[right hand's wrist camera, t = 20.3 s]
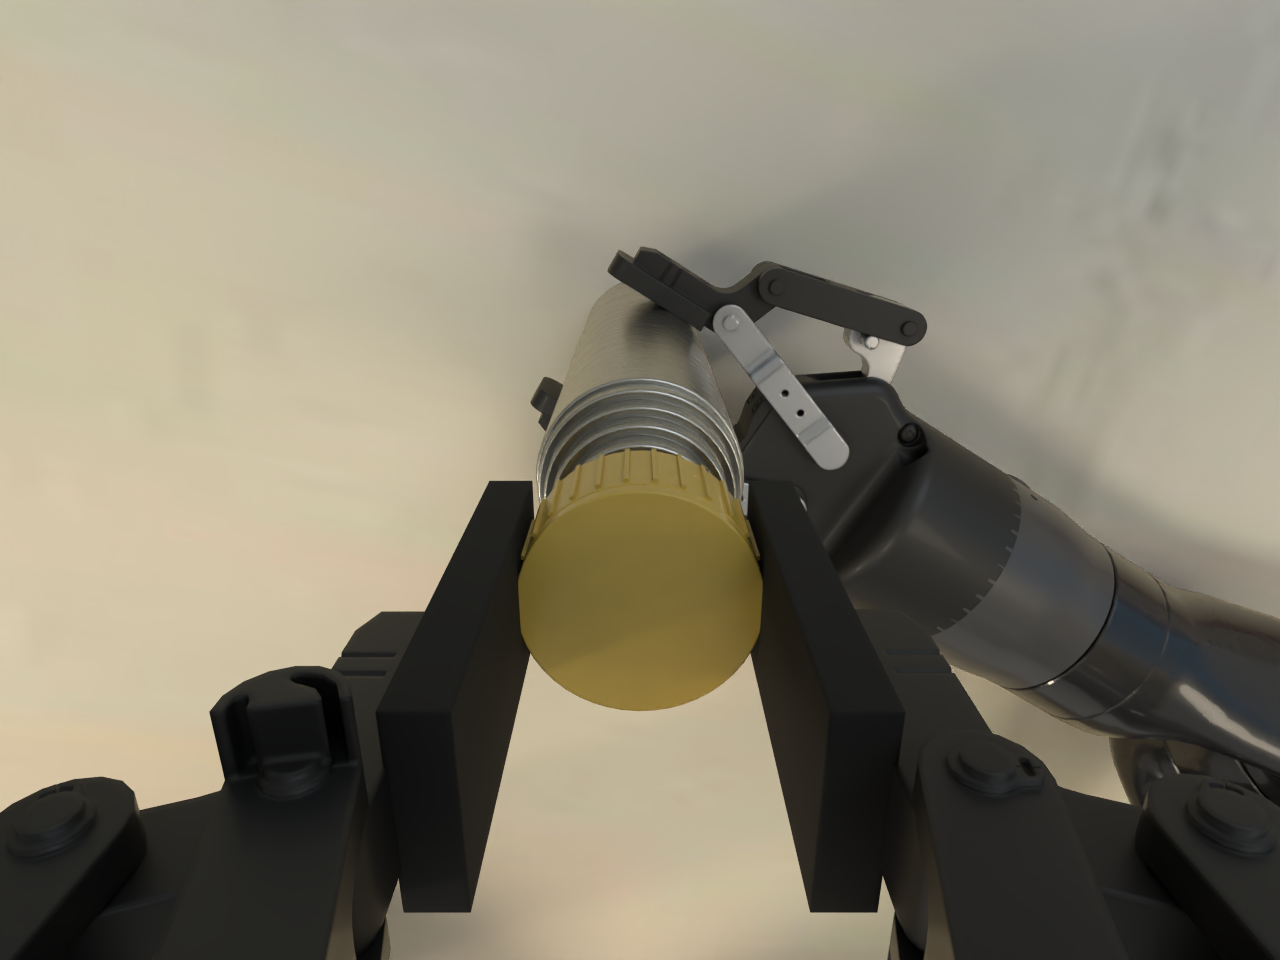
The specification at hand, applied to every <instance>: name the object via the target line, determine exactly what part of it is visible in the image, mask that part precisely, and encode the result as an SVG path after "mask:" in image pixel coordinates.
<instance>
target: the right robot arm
mask: <svg viewBox="0 0 1280 960" xmlns="http://www.w3.org/2000/svg"><path fill="white" fill-rule="evenodd" d="M532 519H534V506H533V487H532V481H489V483H488V485H487V487H486V489H485V491H484V493H483V495H482V497H481V499H480V501H479V503H478V505H477V507H476V510H475V512H474V514H473V516H472V518H471V520H470V522H469V524H468V526H467V528H466V530H465V532H464V534H463V536H462V538H461V540H460V542H459V544H458V546H457V548H456V550H455V552H454V554H453V556H452V558H451V560H450V562H449V564H448V566H447V568H446V570H445V572H444V574H443V576H442V578H441V580H440V582H439V584H438V586H437V588H436V590H435V592H434V594H433V596H432V598H431V600H430V602H429V604H428V606H427V608H426V610H425V612H381V613H379V614H378V615H376V616H375V617H374V618H372V619H371V620H370V621H368V622H367V623H365V624H364V625H363V626H361V627H360V628H359V629H357V630H356V631H355V632H354V634H353V636H352V637H351V639H350V640H349V642H348V643H347V645H346V647H345V648H344V650H343V651H342V656H341V657H339V658H338V659H337V661H336V663H335V664H334V666H333V667H332V669H328V668H324V667H321V666H294V667H289V668H284V669H279V670H274V671H269V672H266V673H264V674H261V675H259V676H257V677H254V678H252V679H249V680H247V681H244V682H242V683H241V684H239V685H238V686H236V687H235V688H233V689H232V690H230V691H229V692H227V693H226V694H224V695H223V696H222V697H221V698H220V699H219V701H218V702H217V703H216V704H215V706H214V707H213V708H212V709H211V711H210V717H211V721H212V725H213V730H214V734H215V738H216V743H217V747H218V752H219V756H220V760H221V765H222V769H223V773H224V778H225V782H224V784H223V787H222V789H221V790H220V791H218V792H214V793H211V794H207V795H204V796H201V797H197V798H193V799H188V800H184V801H179V802H175V803H170V804H166V805H161V806H157V807H152V808H148V809H143V810H139V808H138V804H137V801H136V797H135V794H134V791H133V790H131V789H130V788H129V787H128V786H127V785H126V784H125V783H124V782H123V781H120V780H115V779H110V778H106V777H93V778H83V779H73V780H70V781H67V782H63V783H60V784H57V785H53V786H50V787H47V788H44V789H41V790H39V791H37V792H35V793H33V794H31V795H29V796H27V797H25V798H23V799H21V800H19V801H17V802H15V803H13V804H11V805H10V806H9V807H7V808H6V809H5V810H3V811H2V812H1V813H0V960H389V958H390V941H389V933H388V926H387V920H386V913H387V910H388V908H389V905H390V902H391V899H392V896H393V893H394V890H395V887H396V884H397V881H398V878H399V883H400V890H401V897H402V904H403V911H404V912H471V909H472V904H473V900H474V896H475V891H476V887H477V883H478V878H479V874H480V870H481V865H482V861H483V857H484V852H485V848H486V843H487V839H488V835H489V830H490V826H491V822H492V817H493V813H494V809H495V804H496V800H497V796H498V791H499V787H500V783H501V778H502V774H503V770H504V765H505V761H506V757H507V752H508V748H509V743H510V739H511V735H512V730H513V726H514V722H515V717H516V713H517V709H518V704H519V700H520V696H521V691H522V687H523V683H524V678H525V674H526V670H527V665H528V661H529V657H530V651H529V649H528V648H527V646H526V644H525V641H524V639H523V637H522V634H521V625H520V608H519V592H518V576H519V573H520V569H521V566H522V563H523V560H521V553H522V550H523V547H524V544H525V541H526V537H527V534H528V531H529V528H530V525H531V522H532ZM747 520H749V522H750V526H751V529H752V532H753V535H754V538H755V541H756V544H757V548H758V551H759V554H760V560H758V564H759V567H760V571H761V574H762V577H763V591H762V607H761V623H760V633H759V637H758V639H757V641H756V643H755V645H754V647H753V649H752V651H751V652H750V653H751V657H752V661H753V666H754V670H755V674H756V679H757V683H758V687H759V692H760V696H761V700H762V705H763V709H764V713H765V718H766V722H767V727H768V731H769V735H770V740H771V744H772V748H773V753H774V757H775V761H776V766H777V770H778V774H779V779H780V783H781V787H782V792H783V796H784V800H785V805H786V809H787V813H788V818H789V822H790V826H791V831H792V835H793V839H794V844H795V848H796V852H797V857H798V861H799V865H800V870H801V874H802V879H803V883H804V887H805V892H806V896H807V900H808V905H809V909H810V912H877V911H878V904H879V897H880V890H881V883H882V876H883V877H884V880H885V883H886V886H887V889H888V892H889V895H890V898H891V901H892V903H893V906H894V909H895V913H894V920H893V926H892V933H891V939H890V946H889V952H888V959H887V960H1280V807H1278V806H1277V805H1276V804H1274V803H1273V802H1272V801H1270V800H1268V799H1266V798H1264V797H1262V796H1260V795H1258V794H1256V793H1254V792H1252V791H1250V790H1248V789H1246V788H1244V787H1242V786H1240V785H1237V784H1234V783H1231V782H1228V781H1223V780H1221V779H1217V778H1213V777H1210V776H1203V775H1193V774H1183V773H1180V774H1175V775H1170V776H1165V777H1160V778H1159V779H1158V780H1157V781H1156V782H1155V783H1153V784H1152V785H1151V786H1150V787H1149V788H1148V791H1147V794H1146V798H1145V801H1144V805H1143V807H1140V806H1135V805H1131V804H1126V803H1122V802H1117V801H1113V800H1108V799H1103V798H1099V797H1094V796H1090V795H1085V794H1082V793H1079V792H1075V791H1072V790H1068V789H1065V788H1062V787H1060V786H1058V785H1057V783H1056V780H1055V779H1054V777H1053V776H1052V774H1051V773H1050V771H1049V770H1048V768H1047V767H1046V766H1045V764H1044V763H1043V761H1041V760H1040V759H1039V758H1037V757H1036V756H1035V755H1033V754H1032V753H1031V752H1030V751H1028V750H1027V749H1026V748H1024V747H1023V746H1021V745H1019V744H1017V743H1014V742H1012V741H1010V740H1008V739H1006V738H1003V737H1001V736H999V735H995V734H992V732H991V730H990V729H989V727H988V726H987V724H986V722H985V721H984V719H983V718H982V716H981V715H980V713H979V711H978V710H977V708H976V707H975V705H974V703H973V702H972V700H971V699H970V697H969V696H968V694H967V692H966V691H965V689H964V688H963V686H962V685H961V683H960V681H959V680H958V678H957V677H956V675H955V673H952V672H951V667H950V666H949V664H948V662H947V661H946V659H945V658H944V656H943V655H940V650H939V648H938V647H937V645H936V643H935V642H934V640H933V639H932V637H931V635H930V634H929V632H928V631H927V629H926V628H925V627H924V626H922V625H921V624H919V623H918V622H917V621H915V620H914V619H912V618H911V617H910V616H908V615H907V614H906V613H904V612H903V611H901V610H900V609H855V608H854V606H853V604H852V602H851V600H850V598H849V596H848V594H847V592H846V590H845V588H844V586H843V584H842V582H841V580H840V578H839V576H838V574H837V572H836V570H835V568H834V566H833V564H832V562H831V560H830V558H829V556H828V554H827V552H826V550H825V548H824V546H823V544H822V542H821V540H820V538H819V536H818V534H817V532H816V530H815V528H814V526H813V524H812V522H811V520H810V518H809V516H808V514H807V512H806V510H805V508H804V506H803V504H802V502H801V499H800V497H799V495H798V493H797V491H796V489H795V487H794V485H793V483H792V481H749V486H748V505H747Z"/></svg>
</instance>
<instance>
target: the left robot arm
mask: <svg viewBox="0 0 1280 960" xmlns="http://www.w3.org/2000/svg"><path fill="white" fill-rule="evenodd" d="M608 273H610V274H611V275H612V276H613V277H615V278H616V279H618V280H619V281H621V282H623V283H624V284H626V285H627V286H629V287H631V288H632V289H634V290H635V291H637V292H639V293H640V294H642V295H643V296H645V297H647V298H648V299H650V300H651V301H653V302H655V303H656V304H658V305H659V306H661V307H663V308H664V309H666V310H667V311H669V312H671V313H672V314H674V315H676V316H678V317H679V318H680V319H682V320H683V321H685V322H686V323H688V324H690V325H691V326H693V327H694V328H696V329H698V330H699V331H701V330H702V328H703V326H705V327H707V328H709V329H710V330H712V331H713V332H715V333H716V334H717V335H718V337H719V338H720V339H721V341H722V342H723V343H724V344H725V346H726V347H727V348H728V349H729V351H730V352H731V353H732V354H733V356H734V357H735V358H736V360H737V361H738V362H739V363H740V365H741V366H742V367H743V368H744V370H745V371H746V372H747V374H748V375H749V377H750V378H751V379H752V381H753V382H754V383H755V385H756V387H755V389H754V390H753V392H752V393H751V395H750V396H749V398H748V399H747V401H746V403H745V405H744V408H743V411H742V414H741V417H740V420H739V421H738V423H736V424H735V425H734V426H733V429H734V431H735V434H736V437H737V440H738V442H739V446H740V449H741V452H742V457H743V463H744V486H743V493H742V501H741V506H742V509H743V513H744V516H745V519H746V520H747V505H748V486H749V481H792V483H793V485H794V487H795V489H796V491H797V493H798V495H799V497H800V499H801V502H802V504H803V506H804V508H805V510H806V512H807V514H808V516H809V518H810V520H811V522H812V524H813V526H814V528H815V530H816V532H817V534H818V536H819V538H820V540H821V542H822V544H823V546H824V548H825V550H826V552H827V554H828V556H829V558H830V560H831V562H832V564H833V566H834V568H835V570H836V572H837V574H838V576H839V578H840V580H841V582H842V584H843V586H844V588H845V590H846V592H847V594H848V596H849V598H850V600H851V602H852V604H853V606H854V608H855V609H900V610H901V611H903V612H904V613H906V614H907V615H908V616H910V617H911V618H912V619H914V620H915V621H917V622H918V623H919V624H921V625H922V626H924V627H925V628H926V629H927V631H928V632H929V634H930V635H931V637H932V639H933V640H934V642H935V643H936V645H937V647H938V648H939V650H940V655H943V656H944V658H945V659H946V661H947V662H948V664H950V665H952V666H955V667H957V668H959V669H962V670H964V671H967V672H969V673H972V674H974V675H977V676H980V677H983V678H985V679H987V680H989V681H991V682H993V683H995V684H997V685H999V686H1001V687H1003V688H1005V689H1006V690H1008V691H1010V692H1012V693H1013V694H1015V695H1017V696H1019V697H1020V698H1022V699H1024V700H1026V701H1027V702H1029V703H1031V704H1033V705H1034V706H1036V707H1038V708H1039V709H1041V710H1043V711H1044V712H1046V713H1048V714H1049V715H1051V716H1053V717H1055V718H1056V719H1058V720H1060V721H1062V722H1064V723H1066V724H1069V725H1071V726H1073V727H1075V728H1078V729H1080V730H1082V731H1085V732H1088V733H1091V734H1094V735H1098V736H1104V737H1109V742H1110V748H1111V753H1112V757H1113V761H1114V765H1115V767H1116V770H1117V773H1118V776H1119V778H1120V781H1121V783H1122V786H1123V788H1124V790H1125V793H1126V795H1127V797H1128V800H1129V802H1130V804H1131V805H1135V806H1140V807H1143V805H1144V801H1145V798H1146V794H1147V791H1148V788H1149V787H1150V786H1151V785H1152V784H1153V783H1155V782H1156V781H1157V780H1158V779H1159V778H1160V777H1165V776H1170V775H1175V774H1180V773H1183V774H1193V775H1203V776H1210V777H1213V778H1217V779H1221V780H1223V781H1228V782H1231V783H1234V784H1237V785H1240V786H1242V787H1244V788H1246V789H1248V790H1250V791H1252V792H1254V793H1256V794H1258V795H1260V796H1262V797H1264V798H1266V799H1268V800H1270V801H1272V802H1273V803H1274V804H1276V805H1277V806H1278V807H1280V619H1279V618H1276V617H1273V616H1270V615H1267V614H1263V613H1260V612H1257V611H1254V610H1251V609H1248V608H1245V607H1242V606H1239V605H1235V604H1232V603H1229V602H1226V601H1223V600H1220V599H1217V598H1214V597H1211V596H1207V595H1203V594H1200V593H1195V592H1191V591H1187V590H1183V589H1179V588H1175V587H1172V586H1169V585H1166V584H1164V583H1163V582H1161V581H1160V580H1158V579H1157V578H1155V577H1154V576H1153V575H1151V574H1150V573H1148V572H1146V571H1144V570H1143V569H1141V568H1140V567H1138V566H1137V565H1135V564H1133V563H1132V562H1130V561H1129V560H1127V559H1126V558H1124V557H1122V556H1121V555H1119V554H1118V553H1116V552H1115V551H1113V550H1111V549H1110V548H1108V547H1107V546H1105V545H1104V544H1102V543H1100V542H1099V541H1098V540H1096V539H1095V538H1094V537H1092V536H1091V535H1089V534H1088V533H1087V532H1085V531H1084V530H1083V529H1082V528H1081V527H1080V526H1079V525H1078V524H1076V523H1075V522H1074V521H1073V520H1072V519H1071V518H1070V517H1069V516H1067V515H1066V514H1065V513H1064V512H1063V511H1061V510H1060V509H1059V508H1058V507H1056V506H1055V505H1053V504H1052V503H1051V502H1049V501H1048V500H1046V499H1044V498H1043V497H1041V496H1040V495H1038V494H1037V493H1035V492H1034V491H1032V490H1031V489H1030V488H1029V487H1028V486H1027V485H1026V484H1025V483H1024V482H1023V481H1021V480H1020V479H1018V478H1016V477H1014V476H1012V475H1009V474H1005V473H1004V472H1002V471H1001V470H999V469H998V468H996V467H994V466H993V465H991V464H990V463H988V462H987V461H985V460H984V459H982V458H980V457H979V456H977V455H976V454H974V453H972V452H971V451H969V450H968V449H966V448H965V447H963V446H962V445H960V444H958V443H957V442H955V441H954V440H952V439H951V438H949V437H948V436H946V435H944V434H943V433H941V432H940V431H938V430H937V429H935V428H934V427H932V426H930V425H929V424H927V423H926V422H924V421H923V420H921V419H920V418H918V417H916V416H915V415H913V414H912V413H910V412H909V411H907V410H906V409H905V407H904V406H903V404H902V403H901V401H900V398H899V396H898V394H897V392H896V390H895V389H894V388H893V387H892V385H891V382H892V380H893V377H894V375H895V373H896V370H897V368H898V366H899V363H900V361H901V358H902V356H903V354H904V351H905V349H906V347H907V346H912V345H914V344H916V343H918V342H919V341H920V340H921V339H922V338H923V337H924V335H925V333H926V330H927V323H926V320H925V318H924V316H923V315H922V314H920V313H919V312H917V311H915V310H913V309H911V308H909V307H907V306H904V305H902V304H900V303H898V302H896V301H893V300H890V299H887V298H884V297H881V296H877V295H874V294H871V293H868V292H865V291H862V290H858V289H855V288H852V287H849V286H846V285H843V284H839V283H836V282H833V281H830V280H827V279H824V278H820V277H817V276H814V275H811V274H808V273H805V272H801V271H798V270H795V269H792V268H789V267H786V266H782V265H779V264H776V263H773V262H768V261H766V262H761V263H759V264H757V265H756V266H755V267H754V268H753V270H752V271H751V273H750V274H749V275H747V276H746V277H745V278H743V279H742V280H741V281H740V282H738V283H737V284H735V285H734V286H732V287H729V288H718V287H715V286H713V285H711V284H709V283H708V282H706V281H705V280H703V279H702V278H700V277H698V276H697V275H695V274H694V273H692V272H691V271H689V270H688V269H686V268H684V267H683V266H681V265H680V264H678V263H677V262H675V261H674V260H672V259H670V258H669V257H667V256H666V255H664V254H663V253H661V252H659V251H658V250H656V249H652V248H646V247H640V249H639V251H638V252H637V254H636V256H635V257H634V258H633V257H631V256H629V255H628V254H626V253H624V252H622V251H620V250H618V252H617V254H616V256H615V257H614V259H613V261H612V262H611V264H610V266H609V268H608ZM775 306H777V307H780V308H783V309H786V310H789V311H793V312H796V313H799V314H802V315H806V316H809V317H812V318H815V319H818V320H822V321H825V322H828V323H831V324H835V325H838V326H841V327H844V328H845V329H844V332H843V338H844V341H845V343H846V345H847V346H848V347H849V348H851V349H852V350H853V351H854V352H856V353H857V354H859V355H860V356H861V359H862V369H861V371H848V372H834V373H821V374H807V375H793V373H792V372H791V371H790V369H789V368H788V367H787V366H786V364H785V363H784V362H783V360H782V359H781V358H780V356H779V355H778V354H777V353H776V351H775V350H774V349H773V347H772V346H771V345H770V343H769V342H768V341H767V340H766V338H765V337H764V336H763V334H762V333H761V332H760V330H759V329H758V328H757V327H756V325H755V324H754V323H755V322H756V321H757V320H759V319H760V318H761V317H762V316H764V315H765V314H766V313H768V312H769V311H770V310H772V309H773V308H774V307H775ZM562 387H563V385H562V384H560V383H559V382H557V381H555V380H553V379H551V378H548V377H544V378H543V380H542V382H541V383H540V385H539V387H538V388H537V390H536V392H535V394H534V396H533V398H532V400H531V404H532V406H533V407H534V408H536V409H537V410H538V411H540V412H541V413H542V415H541V417H540V419H539V424H540V425H541V426H542V427H543V429H544V430H545V431H546V430H547V428H548V425H549V422H550V420H551V417H552V414H553V412H554V409H555V406H556V404H557V401H558V398H559V395H560V393H561V390H562Z"/></svg>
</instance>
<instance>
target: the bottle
mask: <svg viewBox="0 0 1280 960" xmlns="http://www.w3.org/2000/svg"><path fill="white" fill-rule="evenodd" d="M625 449H630V451H641V450H643V451H651V449H656V452H662V453H666V454H671V455H675V456H677V454H680V455H682V458H683V459H686V460H688V461H690V462H692V463H694V464H696V465H698V466H701V464H702V465H704V466H705V467H706V471H708V472H709V473H711V474H712V475H713V476H714V477H715V478H717V479H718V480H719V481H721V480H723V481H724V482H725V484H726V487H727V490H728V491H729V492H730V493H731V494H732V496H733V497H734V499H737V498H738V499H739V501H740V503H741V501H742V493H743V486H744V463H743V457H742V452H741V449H740V446H739V442H738V440H737V437H736V434H735V431H734V429H733V426H732V423H731V421H730V418H729V415H728V413H727V410H726V407H725V405H724V402H723V399H722V397H721V394H720V391H719V389H718V386H717V383H716V380H715V378H714V375H713V372H712V370H711V367H710V364H709V362H708V359H707V356H706V354H705V351H704V348H703V346H702V343H701V340H700V338H699V335H698V332H697V330H696V328H694V327H693V326H691V325H690V324H688V323H686V322H685V321H683V320H682V319H680V318H679V317H678V316H676V315H674V314H672V313H671V312H669V311H667V310H666V309H664V308H663V307H661V306H659V305H658V304H656V303H655V302H653V301H651V300H650V299H648V298H647V297H645V296H643V295H642V294H640V293H639V292H637V291H635V290H634V289H632V288H631V287H629V286H627V285H626V284H624V283H622V284H619V285H617V286H615V287H613V288H612V289H610V290H609V291H607V292H606V293H605V294H604V295H603V296H601V298H600V299H599V300H598V301H597V302H596V304H595V305H594V307H593V308H592V310H591V313H590V315H589V317H588V320H587V323H586V325H585V328H584V331H583V334H582V336H581V339H580V342H579V344H578V347H577V350H576V352H575V355H574V358H573V360H572V363H571V366H570V369H569V371H568V374H567V377H566V379H565V382H564V385H563V387H562V390H561V393H560V395H559V398H558V401H557V404H556V406H555V409H554V412H553V414H552V417H551V420H550V422H549V425H548V428H547V430H546V433H545V436H544V439H543V441H542V445H541V448H540V451H539V455H538V461H537V472H536V480H537V489H538V496H539V502H541V500H542V498H544V499H546V498H547V497H548V496H549V494H550V493H551V491H552V490H553V489H554V487H555V484H556V481H557V480H558V479H560V480H561V481H562V480H563V479H564V478H565V477H567V476H568V475H569V474H570V473H571V472H573V471H574V470H575V467H576V466H577V465H579V464H580V465H581V466H582V465H584V464H586V463H588V462H590V461H593V460H595V459H597V458H599V455H601V454H604V456H607V455H610V454H613V453H619V452H625Z"/></svg>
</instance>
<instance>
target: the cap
mask: <svg viewBox="0 0 1280 960" xmlns="http://www.w3.org/2000/svg"><path fill="white" fill-rule="evenodd" d="M521 560H523V563H522V566H521V569H520V573H519V576H518V592H519V608H520V625H521V634H522V637H523V639H524V641H525V644H526V646H527V648H528V649H529V651H530V653H531V654H532V656H533V658H534V659H535V660H536V662H537V663H538V664H539V665H540V667H541V668H542V669H543V670H544V671H545V672H546V673H547V674H548V675H549V676H550V677H551V678H552V679H553V680H554V681H556V682H557V683H558V684H560V685H561V686H562V687H564V688H565V689H566V690H568V691H570V692H572V693H573V694H575V695H577V696H579V697H581V698H583V699H585V700H588V701H590V702H592V703H596V704H599V705H602V706H606V707H610V708H615V709H621V710H632V711H650V710H659V709H666V708H671V707H675V706H679V705H682V704H685V703H688V702H690V701H693V700H696V699H698V698H700V697H702V696H704V695H706V694H708V693H709V692H711V691H713V690H714V689H716V688H717V687H718V686H720V685H721V684H723V683H724V682H725V681H726V680H727V679H729V678H730V677H731V676H732V675H733V674H734V673H735V672H736V671H737V670H738V669H739V667H740V666H741V665H742V664H743V663H744V661H745V660H746V658H747V657H748V655H749V654H750V652H751V651H752V649H753V647H754V645H755V643H756V641H757V639H758V637H759V633H760V623H761V607H762V591H763V577H762V574H761V571H760V567H759V564H758V560H760V554H759V551H758V548H757V544H756V541H755V538H754V535H753V532H752V529H751V526H750V522H749V520H746V519H745V516H744V513H743V509H742V506H741V503H740V501H739V499H738V498H737V499H734V497H733V496H732V494H731V493H730V492H729V491H728V490H727V487H726V484H725V482H724V481H723V480H721V481H719V480H718V479H717V478H715V477H714V476H713V475H712V474H711V473H709V472H708V471H706V467H705V466H704V465H702V464H701V466H698V465H696V464H694V463H692V462H690V461H688V460H686V459H683V458H682V455H680V454H677V456H675V455H671V454H666V453H662V452H656V449H651V451H643V450H641V451H630V449H625V452H619V453H613V454H610V455H607V456H604V454H601V455H599V458H597V459H595V460H593V461H590V462H588V463H586V464H584V465H582V466H581V465H580V464H579V465H577V466H576V467H575V470H574V471H573V472H571V473H570V474H569V475H568V476H567V477H565V478H564V479H563V480H562V481H561V480H560V479H558V480H557V481H556V484H555V487H554V489H553V490H552V491H551V493H550V494H549V496H548V497H547V498H546V499H544V498H542V500H541V502H540V505H539V509H538V512H537V515H536V519H535V520H534V519H532V522H531V525H530V528H529V531H528V534H527V537H526V541H525V544H524V547H523V550H522V553H521Z"/></svg>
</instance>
